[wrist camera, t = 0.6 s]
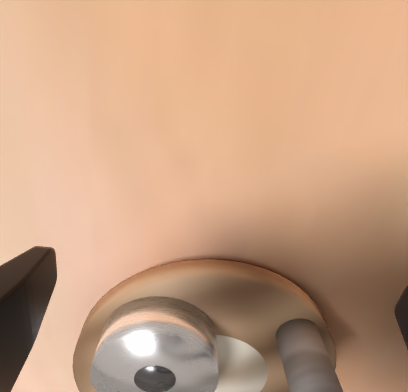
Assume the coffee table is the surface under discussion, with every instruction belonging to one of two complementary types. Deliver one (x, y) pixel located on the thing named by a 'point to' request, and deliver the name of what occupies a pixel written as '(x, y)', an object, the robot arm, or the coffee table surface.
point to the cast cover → (156, 349)
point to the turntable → (233, 325)
